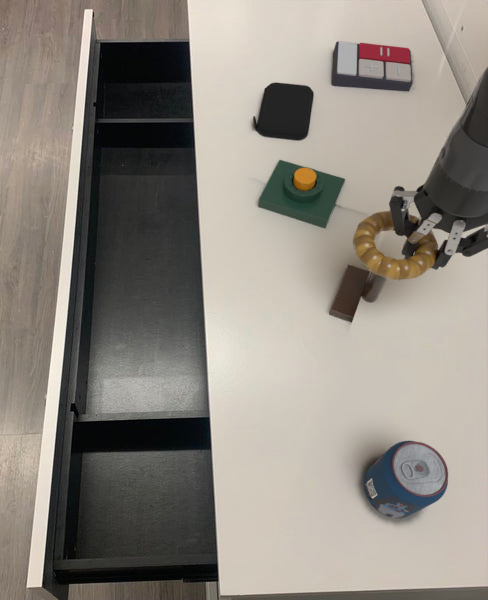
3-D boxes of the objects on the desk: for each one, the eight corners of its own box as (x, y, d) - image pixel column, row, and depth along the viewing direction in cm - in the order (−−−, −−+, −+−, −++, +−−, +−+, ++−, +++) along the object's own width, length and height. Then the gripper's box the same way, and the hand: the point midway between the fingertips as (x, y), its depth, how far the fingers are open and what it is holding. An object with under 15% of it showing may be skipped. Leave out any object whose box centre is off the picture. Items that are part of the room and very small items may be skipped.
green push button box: (342, 187, 93) (347, 171, 89) (325, 228, 88) (329, 213, 85) (278, 168, 96) (280, 151, 92) (258, 207, 91) (259, 191, 88)
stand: (403, 288, 82) (424, 252, 74) (388, 336, 78) (408, 303, 70) (346, 269, 84) (360, 232, 76) (329, 314, 80) (342, 280, 72)
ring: (440, 234, 71) (448, 221, 68) (423, 294, 66) (430, 283, 64) (363, 210, 73) (368, 197, 71) (341, 267, 69) (346, 255, 66)
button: (317, 178, 89) (319, 171, 88) (310, 193, 88) (312, 186, 86) (297, 172, 90) (298, 165, 89) (290, 187, 89) (291, 179, 87)
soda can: (405, 459, 69) (439, 431, 58) (425, 515, 65) (465, 496, 55) (353, 467, 68) (378, 441, 58) (371, 525, 65) (400, 507, 55)
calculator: (414, 80, 101) (335, 71, 102) (406, 99, 105) (329, 90, 106) (412, 45, 106) (337, 37, 108) (404, 64, 110) (331, 56, 111)
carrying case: (260, 89, 107) (249, 140, 100) (261, 76, 104) (249, 127, 97) (313, 95, 106) (306, 147, 98) (315, 82, 103) (308, 134, 96)
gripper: (557, 156, 54) (482, 255, 69) (417, 119, 57) (375, 222, 72) (548, 208, 50) (472, 301, 65) (400, 166, 54) (360, 263, 69)
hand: (421, 259), depth 69 cm, fingers closed on ring, 3 cm apart
